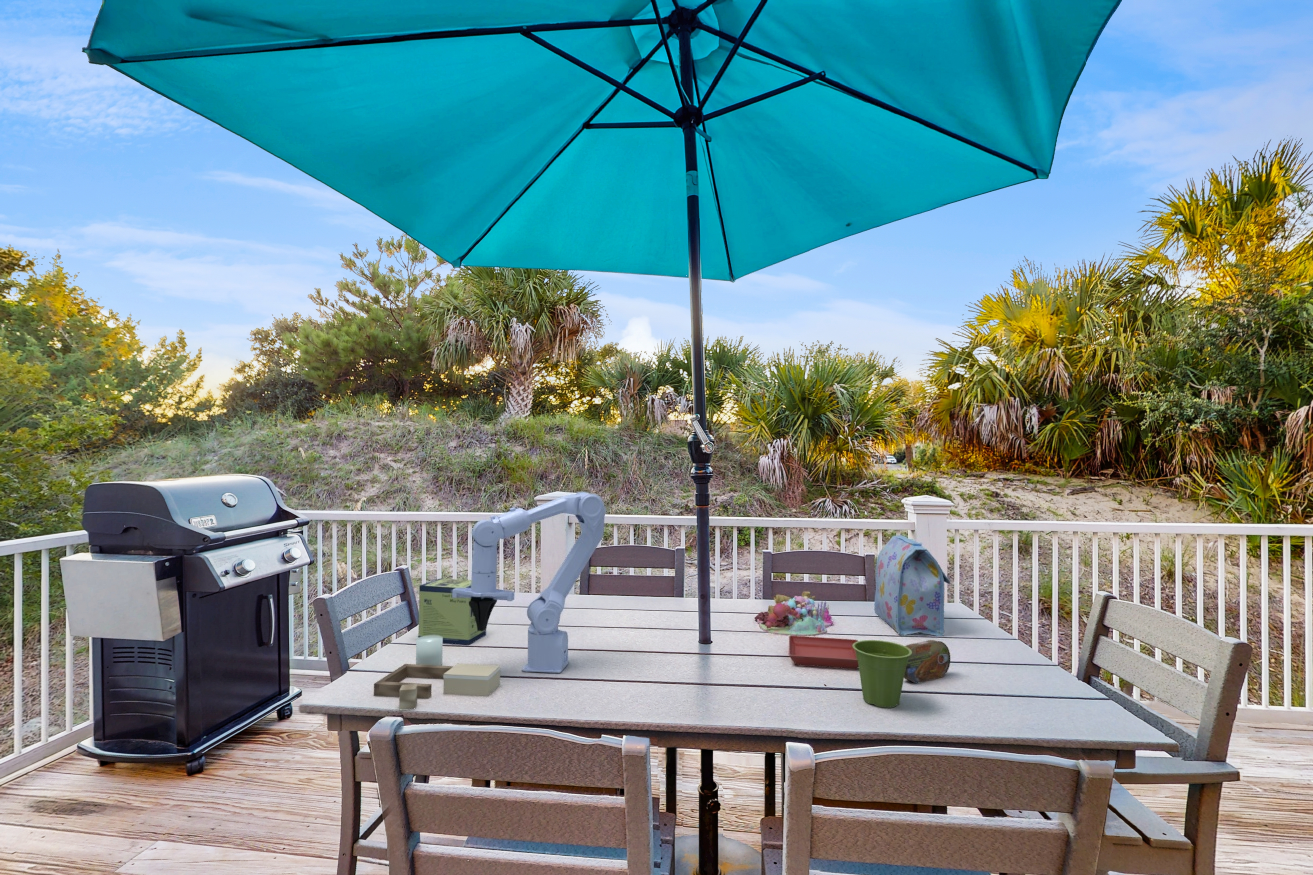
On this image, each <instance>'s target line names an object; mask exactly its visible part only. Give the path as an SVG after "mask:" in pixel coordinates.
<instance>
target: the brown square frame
mask: <svg viewBox="0 0 1313 875" xmlns="http://www.w3.org/2000/svg"><path fill="white" fill-rule="evenodd" d="M454 666H455V665H454ZM454 666H453V665H442V666H438V665H418V664H416V663H415V664H414V663H404V664H403V665H401V666H400V667H398V668H396V669H395V670H393V671H391V672H389V673H388V674H387V675H385V676H384V677H382V678H381V679H379V680H377V681H376V682H374V684H373V697H374V696H377V697H378V696H379V697H390V698H391V697H394V698H399V690H400V688H401V686H402V685H410V684H417V699H425V700H427V699H429V698H430V697H431V696H432V683H416V682H414V683H413V682H402V681H403V680H405V679H406V678H415V679H416V678H419V679H437V680H444V678H443V675H444V673H446V672H447V671H448V670H450V669H451V668H452V667H454Z"/></svg>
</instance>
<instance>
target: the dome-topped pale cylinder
mask: <svg viewBox="0 0 1313 875" xmlns="http://www.w3.org/2000/svg"><path fill="white" fill-rule="evenodd" d="M415 643H416V644H415V648H416V649H415V664H418V665H438V666H443V644H444V643H443V637H442V636H439V635H427V636H422V637H419V638H418V637H417V638H416V639H415Z"/></svg>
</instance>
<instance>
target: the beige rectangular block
mask: <svg viewBox="0 0 1313 875" xmlns="http://www.w3.org/2000/svg"><path fill="white" fill-rule="evenodd" d="M443 678H444V679H443V691H442V692H443V695H452V696H453V695H455V696H457V695H458V696H471V697H472V696H473V697H490V695H491V694H492V693H493V692H494V691H495V690H496V689H497V688H499V686H500V685H501V665H497V664H496V665H495V664H494V665H493V664H479V663H478V664H477V663H473V664H472V663H457V664H455V665H454V667H452V668H451V669H450V670H448V671H447V672H446V673H444V675H443Z"/></svg>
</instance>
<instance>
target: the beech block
mask: <svg viewBox="0 0 1313 875" xmlns="http://www.w3.org/2000/svg"><path fill="white" fill-rule="evenodd" d="M398 699H399V703H398V704H399V705H398V708H399V709H408V710H415V709H416V707H417V704H418V698H417V684H410V685H402V686H401V688H400V690H399V697H398ZM414 708H415V709H414ZM399 709H398V710H399Z"/></svg>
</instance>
